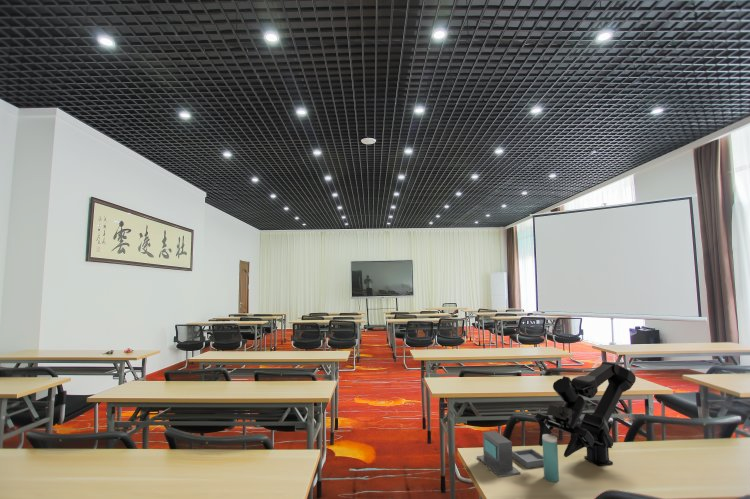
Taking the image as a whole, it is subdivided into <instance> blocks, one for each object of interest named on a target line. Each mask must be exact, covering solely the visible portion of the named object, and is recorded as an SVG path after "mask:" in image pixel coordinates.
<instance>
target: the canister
mask: <svg viewBox="0 0 750 499" xmlns="http://www.w3.org/2000/svg"><path fill="white" fill-rule="evenodd" d="M542 441H543V445H542V455H543V463H544V466H543V478H544V479H545V480H546V481H548V482H553V483H556V482H560V472H559V468H560V467H559V453H558V437H557V436H556V435H554V434H552V433H551V434H543V435H542Z"/></svg>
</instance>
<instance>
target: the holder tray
mask: <svg viewBox="0 0 750 499" xmlns="http://www.w3.org/2000/svg"><path fill="white" fill-rule="evenodd" d="M512 459H514V460H516V461H517V462H518V463H520V465H523V466H524V467H525V468H527V469H532V468H538V467H544V463H543V454H541V453H540V452H538V451H536V450H535V449H533V448H528V449H527V448H526V449H519V450H512Z"/></svg>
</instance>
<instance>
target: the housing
mask: <svg viewBox="0 0 750 499" xmlns="http://www.w3.org/2000/svg"><path fill="white" fill-rule="evenodd" d="M482 443H483V444H482V446H483V448H482V450H483V454H482V455H477V456H476V459H478V460H479V461H480V462H481V463H482V464H484V466H486V467H487V468H488V469H490V470H491V471H492V472H493V473H494V474H495V475H496V476H497V477H498V478H503V477H504V478H505V477H509V476H510V477H511V476H516V475H521V471H520V470H519V469H517V468H516V467H515V466H513V465H514V464H513V463H514V462H513V457H512V451H513V442H512V441H511V440H509V438H507V437H505V436H504V435H502V434H501V433H499V432H497V430H491V431H490V430H489V431H482Z"/></svg>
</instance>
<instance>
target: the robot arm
mask: <svg viewBox="0 0 750 499" xmlns="http://www.w3.org/2000/svg"><path fill="white" fill-rule="evenodd" d="M636 379H637V378H636V375H635V373H633V371H632V370H629V369H627V368H624V367H623V366H620V365H619V364H617V363H615V362H610V361H602V362H601V364H600V365H599V366H598V367H596V368H595V369H593V370H591V371H590V372H589V373H588V374H586V375H579V376H576V377H573V378H572V379H571V378H570V377H569V376H565V375H563V376H562V378H559V379H557V380H555V381H554V383H552V388H553V390H554V392H555V393H556V395H557V396H558V397H559V398H560V400H561V401H562V402H563V405H559V406H555V405H554V404H553V405H552V404H548V407H547V410H546V414H545V413H543V412H542V413H541V412H536V414H535V415H534V419H535V421H536V423H537V424H538V426H539V439H538V445H539V446H540V447H543V441H542V435H543V434H551V435H552V434H553V432H552V430H553V429H556V430H559V431H562V432H564V433H567V434H570V439H569V442H568V444H567V446H566V448H565V451H564V453H563V457H564V458H567V457H569V456H571V455H573V454H574V453H575V452H577V451H579V450H581V449H584V448H586V455H584V457H583V458H584V459H586V460H587V461H590V462H591V463H592V464H594V465H596V466H607V465H613V463H614V462H613V461H612V460H610V456H609V454H610V452H609V449H612V448H613V447H614V442H615V441H614V438H613V437H612V436H611V434H610V429H609V424H608V423H609V421H610V418H611V417H612V415H613V412H614V410H615V408H616V406H617V404H618V403H619V400H620V399H621V396H622V394H623V393H624V392H626V391H629V390H631V388H632V387H633V385H634V384H635V383H636ZM606 381H607V383H608V384H607V386H606V387H605V388H606V389H605V390H604V392H603V395H602V396H601V398H600V400H599V402H598V404H597V405H596V407H595V409H594V411H593V413H587V412H586V413H585V414H584V416H583V418H582V419H581V416H582V413H583V412H584V410H585V409H587V410H588V409H589V404H588V401H587V400H586V399H584V398H588V399H593V398H594V397H595V396H596V395H597V393H598V391H599V390H598V388H599V387H600V386H601V385H602V384H604V383H605V382H606ZM549 415H550V416H552V417H551V418H550V416H549ZM552 419H553V420H552ZM578 423H579V425H577V424H578Z"/></svg>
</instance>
